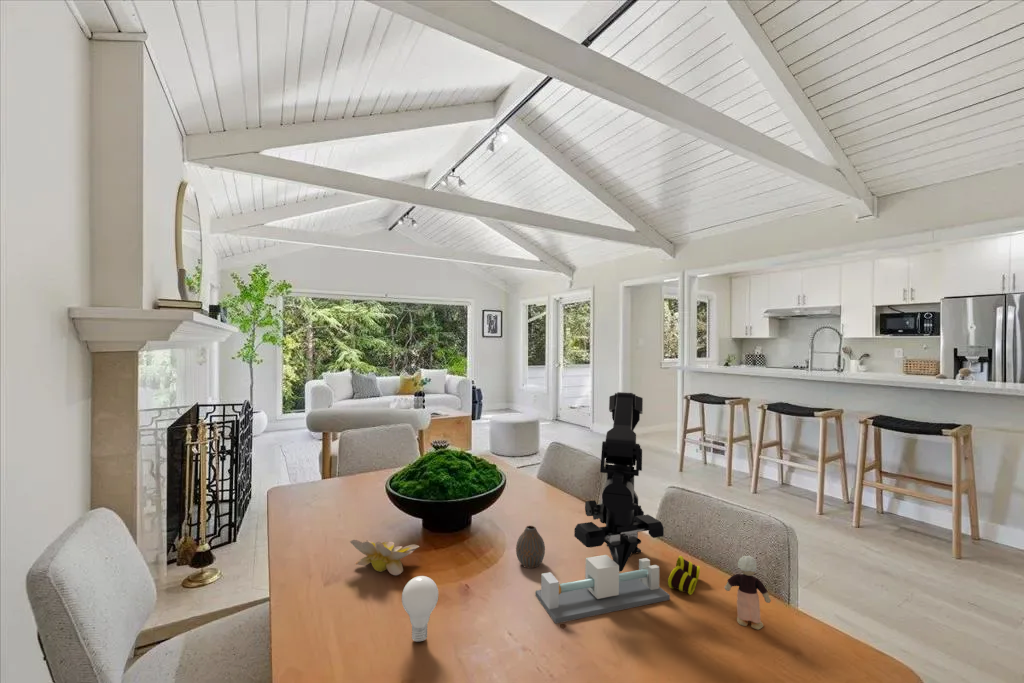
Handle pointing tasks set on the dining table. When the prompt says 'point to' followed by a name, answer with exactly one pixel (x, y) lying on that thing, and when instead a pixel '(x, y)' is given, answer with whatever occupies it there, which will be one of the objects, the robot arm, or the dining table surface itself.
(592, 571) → the white square tube
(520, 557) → the vase
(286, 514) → the dining table surface
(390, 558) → the decorative flower
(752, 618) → the grandmother figurine
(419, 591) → the lightbulb
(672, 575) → the opera glasses
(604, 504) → the robot arm
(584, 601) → the linear slide rail
